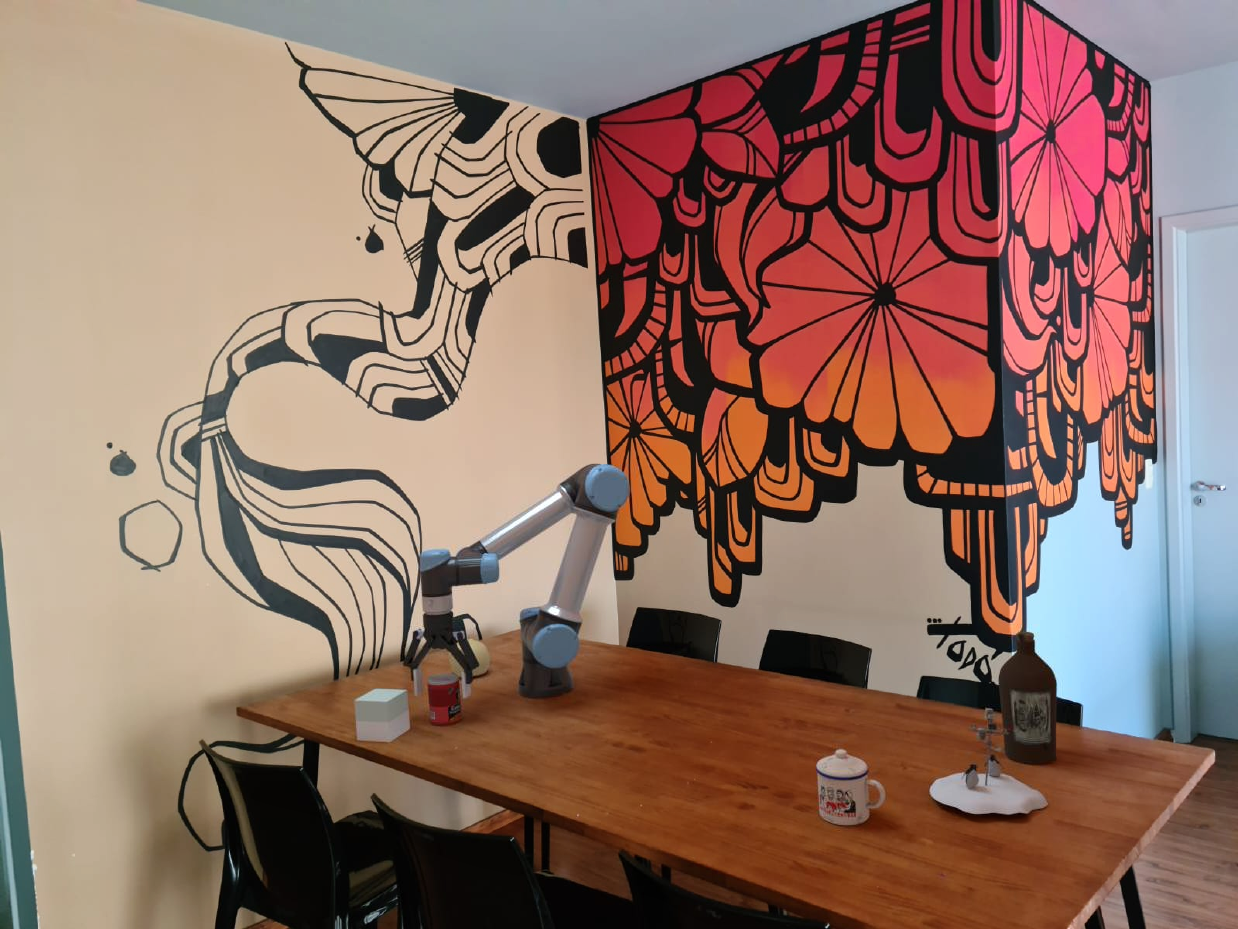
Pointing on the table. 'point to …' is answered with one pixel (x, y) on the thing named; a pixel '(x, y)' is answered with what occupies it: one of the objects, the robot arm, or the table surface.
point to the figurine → (987, 784)
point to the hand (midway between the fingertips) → (442, 695)
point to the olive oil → (1028, 704)
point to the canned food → (444, 699)
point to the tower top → (381, 705)
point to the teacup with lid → (845, 789)
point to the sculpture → (480, 654)
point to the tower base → (383, 729)
